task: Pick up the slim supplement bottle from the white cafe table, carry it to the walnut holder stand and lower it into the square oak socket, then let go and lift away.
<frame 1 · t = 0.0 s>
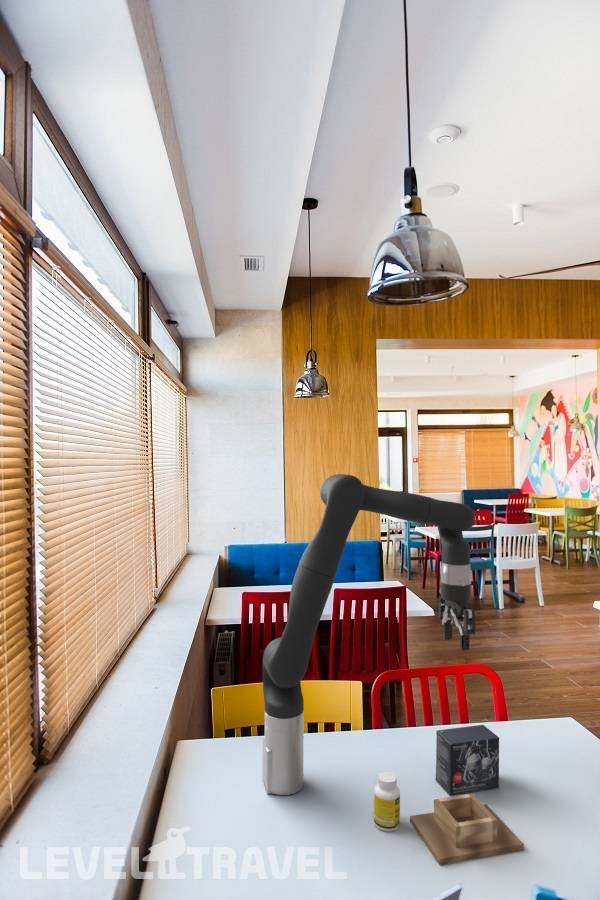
hand: (456, 644, 141), 29 cm above the table, tool pointing down, fingers open, 8 cm apart
supplement bottle: (386, 825, 115), on the table
holder stand: (464, 835, 112), on the table
small box: (467, 785, 130), on the table
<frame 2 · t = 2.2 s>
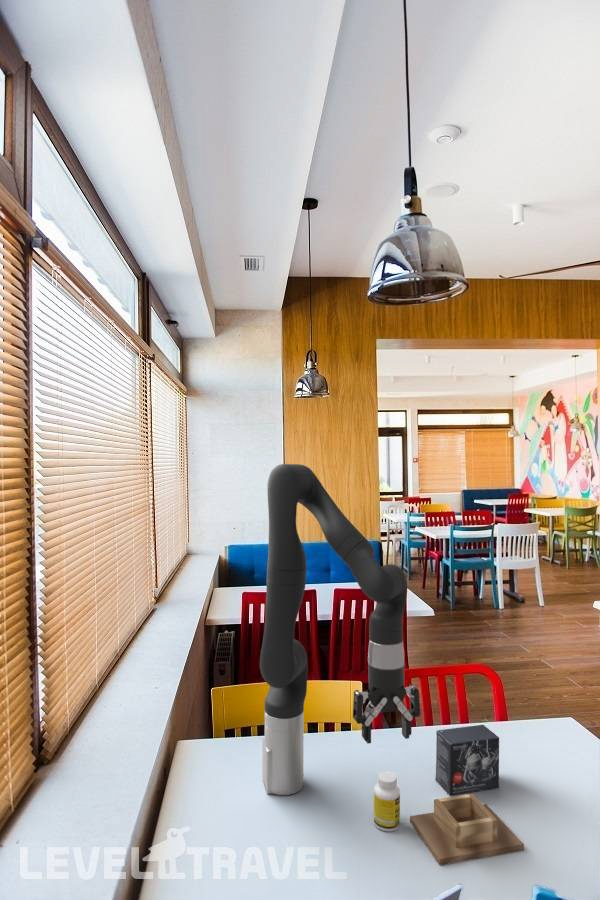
hand: (386, 739, 116), 17 cm above the table, tool pointing down, fingers open, 8 cm apart
nothing on the table moved.
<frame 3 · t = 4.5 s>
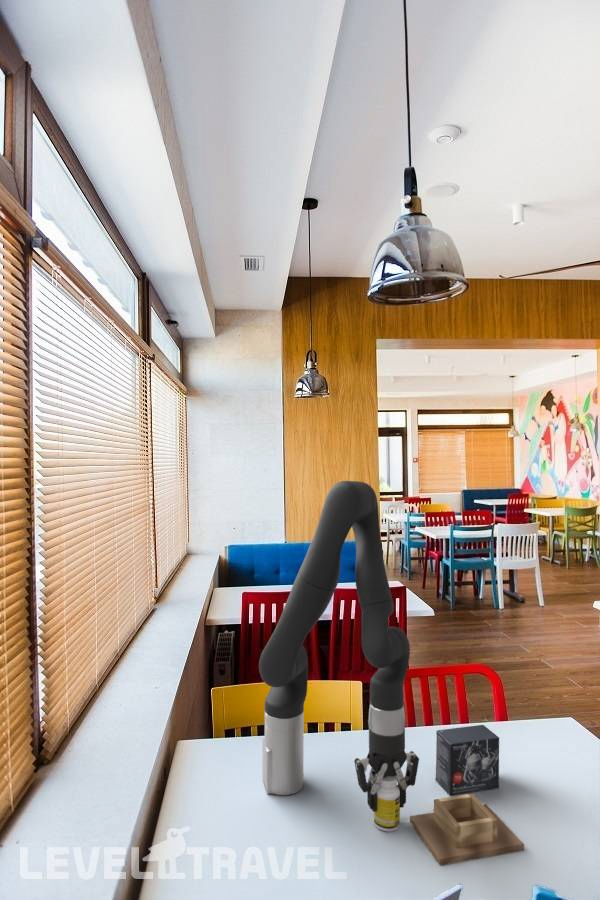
hand: (386, 807, 116), 3 cm above the table, tool pointing down, fingers closed on supplement bottle, 5 cm apart
supplement bottle: (386, 825, 115), on the table, touching gripper
everything else where it was.
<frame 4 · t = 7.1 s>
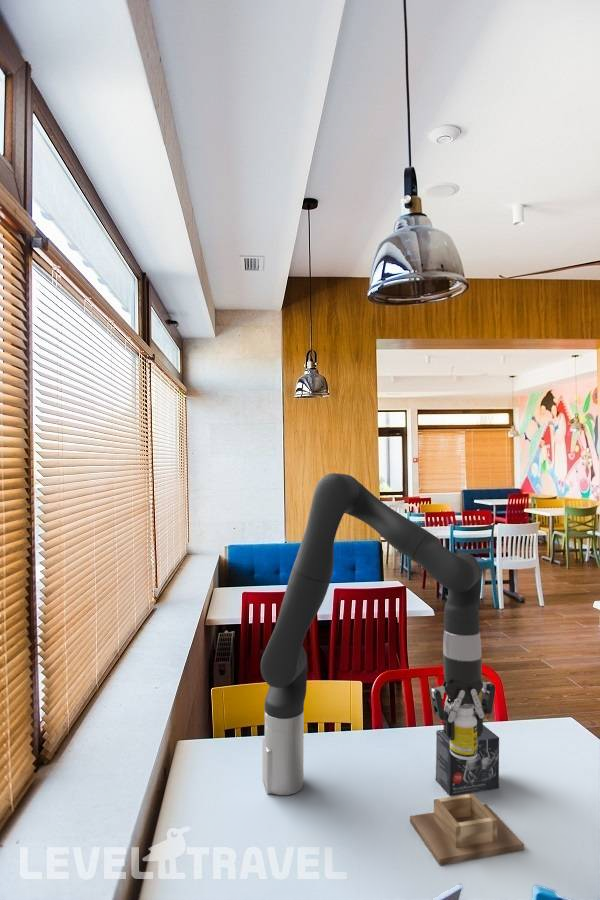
hand: (463, 736, 112), 20 cm above the table, tool pointing down, fingers closed on supplement bottle, 5 cm apart
supplement bottle: (463, 754, 112), point 16 cm above the table, touching gripper
everything else where it was.
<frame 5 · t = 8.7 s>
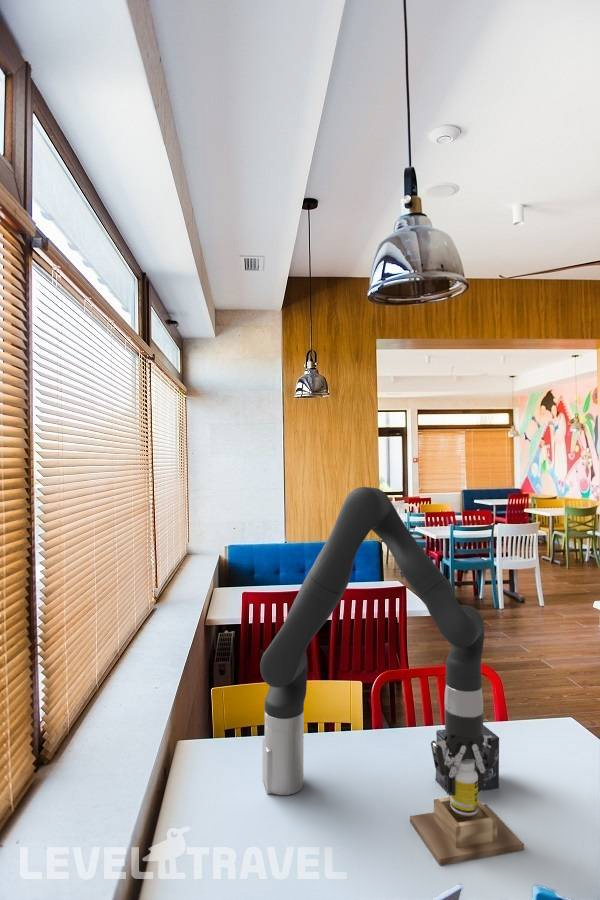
hand: (464, 790, 112), 9 cm above the table, tool pointing down, fingers closed on supplement bottle, 5 cm apart
supplement bottle: (464, 809, 112), point 5 cm above the table, touching gripper
everything else where it was.
when the fingers open (7 cm above the table, at t = 9.9 s): supplement bottle drops 2 cm, resting on holder stand.
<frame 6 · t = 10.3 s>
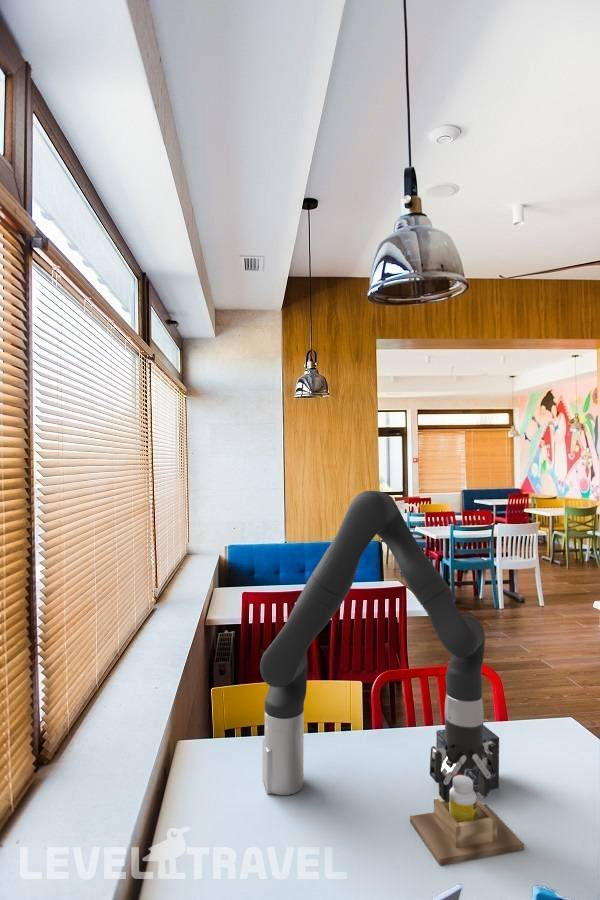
hand: (464, 797, 112), 8 cm above the table, tool pointing down, fingers open, 8 cm apart
supplement bottle: (463, 829, 112), point 1 cm above the table, touching holder stand
everything else where it was.
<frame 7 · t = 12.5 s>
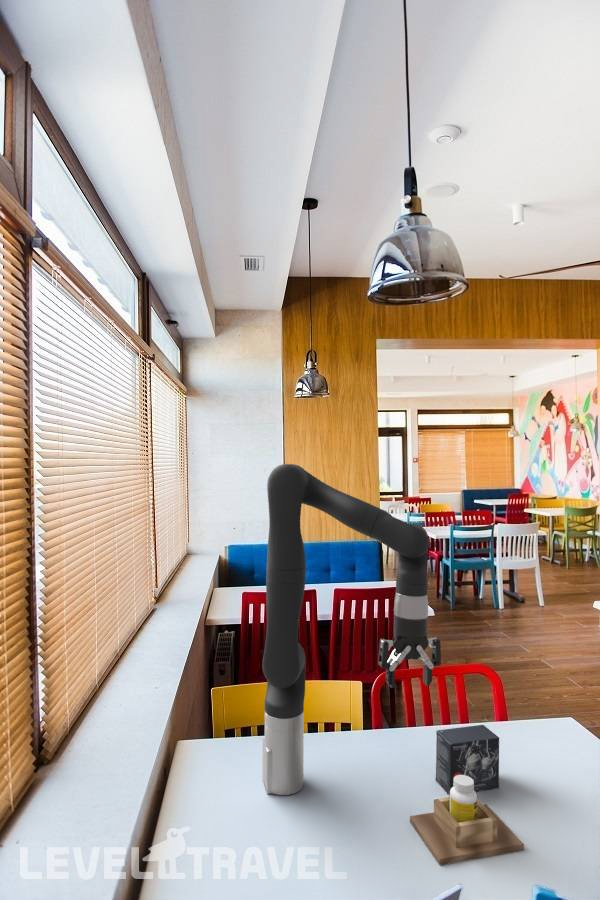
hand: (409, 685, 125), 25 cm above the table, tool pointing down, fingers open, 8 cm apart
nothing on the table moved.
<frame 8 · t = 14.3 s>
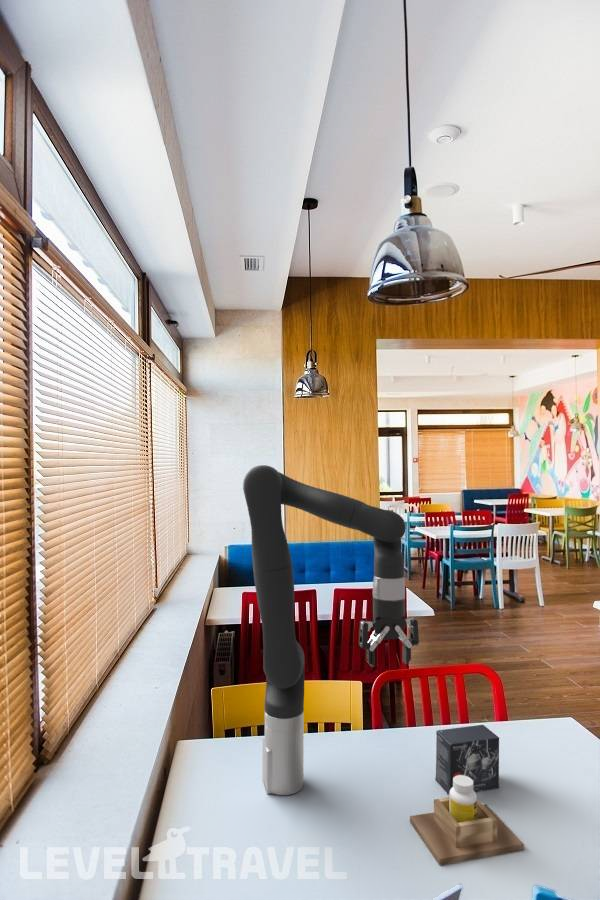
hand: (389, 664, 130), 28 cm above the table, tool pointing down, fingers open, 8 cm apart
nothing on the table moved.
at the end: supplement bottle 0.2 cm off-centre on the holder stand, point 1.0 cm above the holder stand's base; supplement bottle tilted 1°; the gripper is holding nothing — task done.
